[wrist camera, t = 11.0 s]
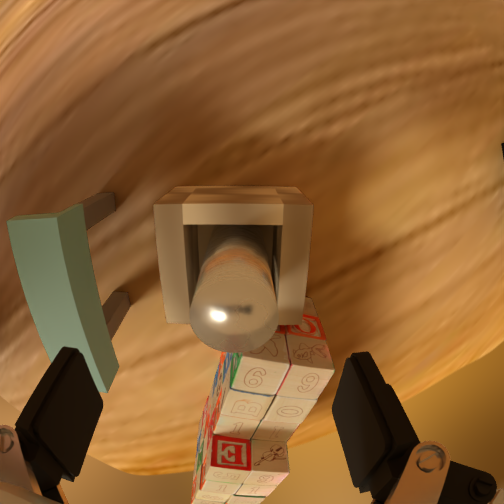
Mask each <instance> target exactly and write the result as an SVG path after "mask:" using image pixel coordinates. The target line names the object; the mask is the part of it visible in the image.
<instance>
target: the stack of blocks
mask: <svg viewBox="0 0 504 504" xmlns="http://www.w3.org/2000/svg"><path fill="white" fill-rule="evenodd" d="M326 340H327V339H326V336H325V333H324V330H323V327H322V325H321V322H320V319H319V318H318V315H317V312H316V309H315V307H314V304H313V301H312V299H311V298H307V297H305V302H304V310H303V318H302V325H278V326H277V329H276V331H275V333H274V334H273V336H272V337H271V338H270V339H269V340H268V341H267V342H266V343H265V344H263V345H262V346H260V347H258V348H256V349H254V350H251V351H247V352H242V353H228V352H223V351H222V354H221V357H220V363H219V366H218V369H217V372H216V375H215V378H214V382H213V385H212V388H211V391H210V394H209V396H208V399H207V402H206V405H205V408H204V411H203V413H202V416H201V419H200V422H199V431H198V438H197V441H198V443H197V453H196V460H195V466H194V475H193V487H192V496H191V504H260V503H261V502H262V501H263V500H264V499H265V497H266V496H268V495H269V494H270V493H271V492H272V491H273V490H274V489H275V488H276V487H277V485H278V484H280V483H281V481H282V480H283V479H284V478H285V477H286V476H287V475H288V474H289V473H290V472H289V462H288V451H287V441H288V440H289V439H290V437H291V436H292V434H293V433H294V432H295V430H296V429H297V428H298V426H299V425H300V423H302V422H303V421H304V419H305V418H306V416H307V415H308V414H309V412H310V411H311V409H312V408H313V406H314V405H315V403H316V402H317V400H318V397H319V396H320V394H321V393H322V391H323V389H324V388H325V386H326V385H327V383H328V382H329V380H330V378H331V377H332V375H333V374H334V372H335V368H334V364H333V361H332V358H331V355H330V353H329V349H328V346H327V343H326Z"/></svg>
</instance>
